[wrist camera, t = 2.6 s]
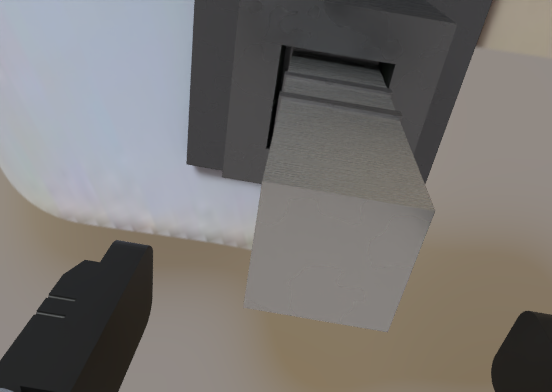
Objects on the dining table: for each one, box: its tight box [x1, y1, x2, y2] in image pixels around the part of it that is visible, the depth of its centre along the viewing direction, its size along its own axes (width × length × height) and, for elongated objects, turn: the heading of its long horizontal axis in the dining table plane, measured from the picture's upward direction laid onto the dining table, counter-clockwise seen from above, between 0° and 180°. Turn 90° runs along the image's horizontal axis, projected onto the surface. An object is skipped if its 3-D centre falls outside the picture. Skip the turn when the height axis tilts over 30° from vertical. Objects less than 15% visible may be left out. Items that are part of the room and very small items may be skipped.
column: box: [243, 47, 435, 332], centre depth 19 cm, size 4×4×18 cm
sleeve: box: [187, 0, 492, 184], centre depth 24 cm, size 16×16×8 cm
